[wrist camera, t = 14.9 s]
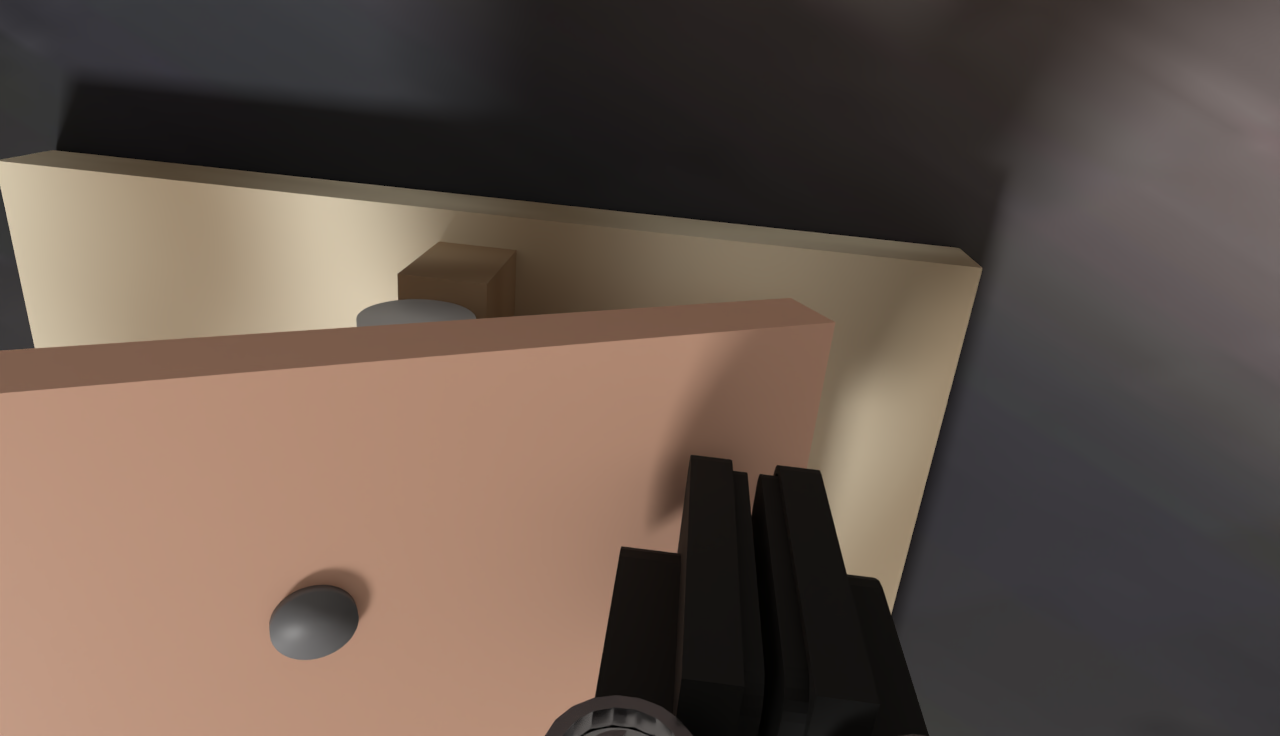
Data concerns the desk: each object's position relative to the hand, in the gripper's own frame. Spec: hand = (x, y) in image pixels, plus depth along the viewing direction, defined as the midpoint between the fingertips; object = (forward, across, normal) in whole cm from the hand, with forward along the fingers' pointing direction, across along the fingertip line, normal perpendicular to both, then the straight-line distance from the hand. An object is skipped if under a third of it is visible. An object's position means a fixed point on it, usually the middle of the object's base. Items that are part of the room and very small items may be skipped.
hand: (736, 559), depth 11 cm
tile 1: (0, +4, 0) cm, 4 cm away
